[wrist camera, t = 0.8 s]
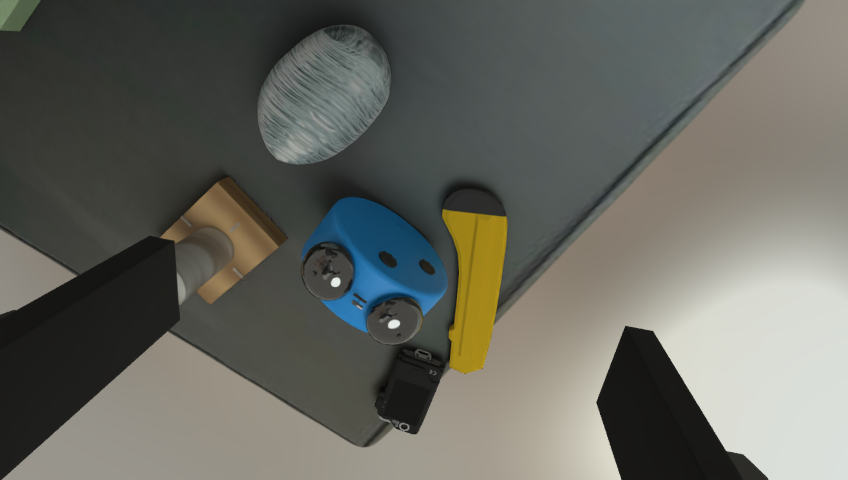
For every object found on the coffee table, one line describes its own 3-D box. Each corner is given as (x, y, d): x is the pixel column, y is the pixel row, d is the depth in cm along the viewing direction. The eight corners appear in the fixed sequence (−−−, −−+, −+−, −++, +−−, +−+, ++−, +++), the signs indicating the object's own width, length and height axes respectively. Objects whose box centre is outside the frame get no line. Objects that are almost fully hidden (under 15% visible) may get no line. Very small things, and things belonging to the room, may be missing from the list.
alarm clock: (326, 221, 50) (267, 285, 37) (357, 178, 48) (308, 229, 34) (420, 292, 52) (397, 378, 39) (455, 254, 50) (444, 331, 36)
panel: (229, 175, 50) (216, 182, 47) (288, 238, 52) (278, 247, 49) (164, 238, 54) (148, 247, 51) (221, 294, 56) (209, 305, 53)
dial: (210, 217, 49) (152, 253, 40) (243, 251, 50) (193, 292, 42) (183, 243, 51) (122, 282, 42) (215, 275, 52) (162, 319, 43)
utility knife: (444, 187, 45) (446, 182, 47) (427, 371, 54) (429, 360, 56) (515, 195, 45) (514, 189, 46) (485, 379, 54) (485, 368, 56)
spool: (341, -23, 38) (324, 41, 32) (416, 58, 44) (415, 126, 38) (247, 72, 45) (219, 140, 39) (323, 132, 51) (309, 199, 45)
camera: (394, 342, 55) (371, 408, 60) (392, 357, 52) (368, 425, 57) (445, 356, 56) (419, 421, 60) (445, 372, 53) (417, 438, 57)
